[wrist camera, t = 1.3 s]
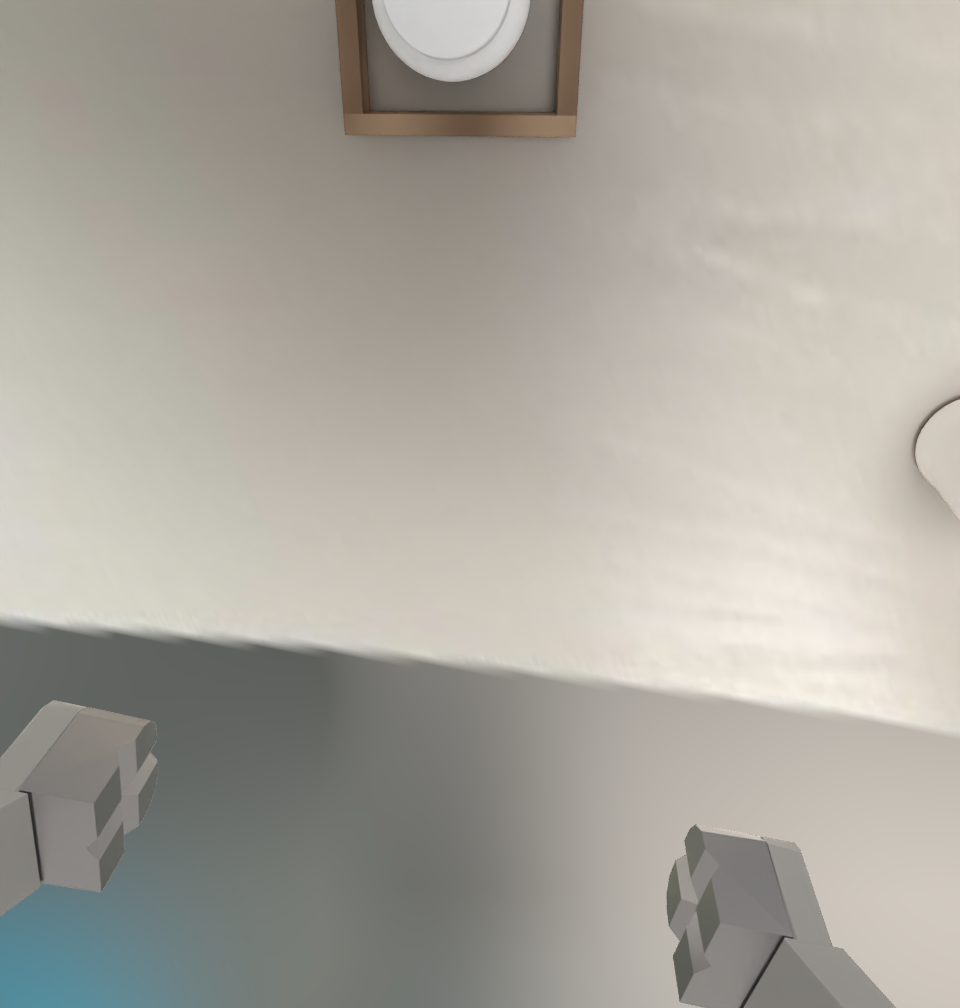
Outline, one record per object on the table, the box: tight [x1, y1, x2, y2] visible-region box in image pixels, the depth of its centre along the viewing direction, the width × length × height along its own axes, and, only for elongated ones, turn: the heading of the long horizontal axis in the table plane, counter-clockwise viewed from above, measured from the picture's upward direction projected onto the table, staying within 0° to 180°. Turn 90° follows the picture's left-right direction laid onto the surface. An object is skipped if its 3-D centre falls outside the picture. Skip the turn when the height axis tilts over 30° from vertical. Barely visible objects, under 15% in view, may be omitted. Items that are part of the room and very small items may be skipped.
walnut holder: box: [335, 0, 584, 137], centre depth 31 cm, size 10×10×2 cm
